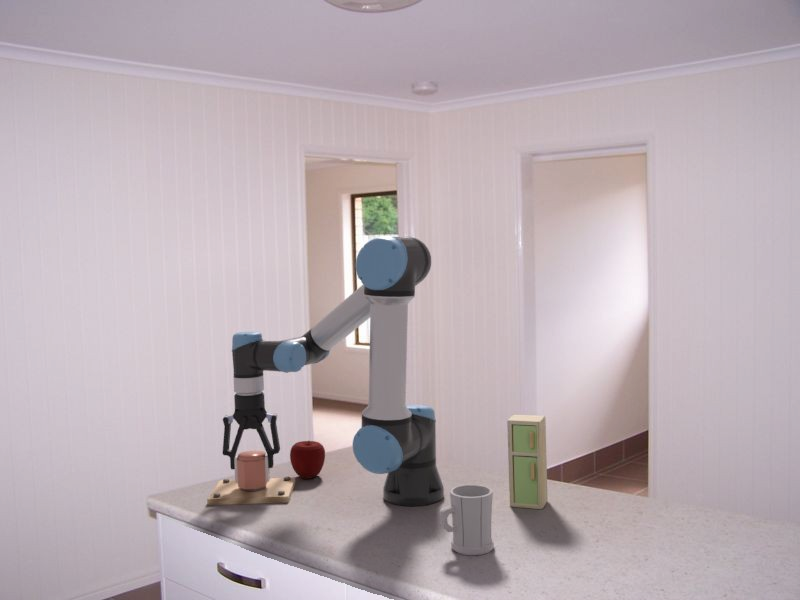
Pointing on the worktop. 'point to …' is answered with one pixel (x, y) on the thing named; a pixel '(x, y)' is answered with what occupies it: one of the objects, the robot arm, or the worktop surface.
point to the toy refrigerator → (527, 461)
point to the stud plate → (252, 492)
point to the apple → (307, 458)
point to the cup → (469, 519)
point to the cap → (251, 470)
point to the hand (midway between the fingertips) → (252, 480)
